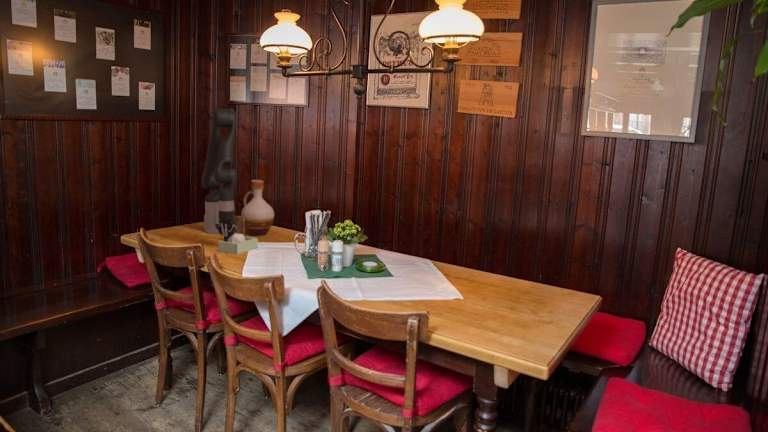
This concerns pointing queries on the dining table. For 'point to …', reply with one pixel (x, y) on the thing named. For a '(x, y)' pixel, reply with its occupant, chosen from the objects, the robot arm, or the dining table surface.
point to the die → (236, 238)
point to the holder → (238, 246)
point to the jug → (257, 211)
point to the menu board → (239, 224)
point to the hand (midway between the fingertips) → (226, 243)
